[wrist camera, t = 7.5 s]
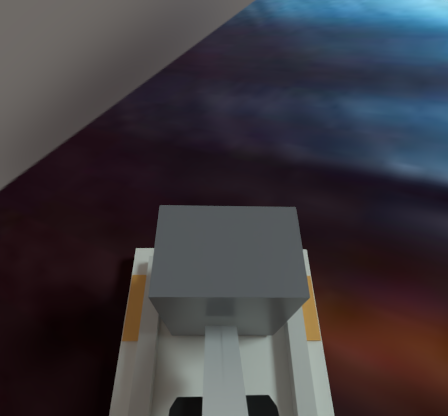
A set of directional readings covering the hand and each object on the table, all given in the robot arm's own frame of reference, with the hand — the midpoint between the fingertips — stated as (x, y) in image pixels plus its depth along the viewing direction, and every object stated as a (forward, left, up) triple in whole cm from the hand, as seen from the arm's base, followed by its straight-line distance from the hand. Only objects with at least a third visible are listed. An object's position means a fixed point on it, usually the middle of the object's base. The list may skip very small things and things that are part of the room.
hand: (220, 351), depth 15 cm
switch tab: (-2, -2, -3) cm, 5 cm away
